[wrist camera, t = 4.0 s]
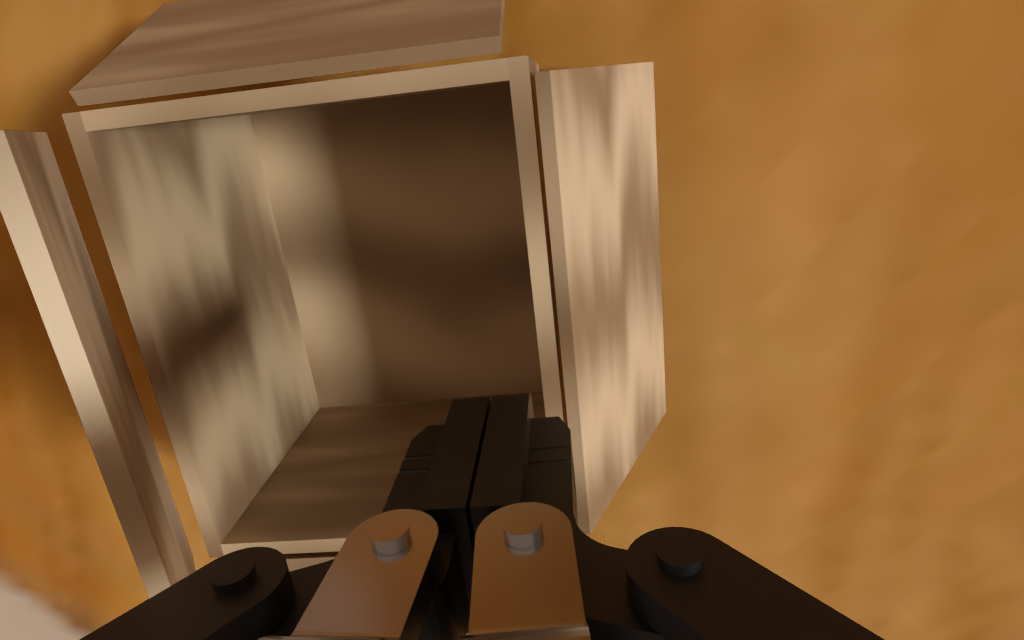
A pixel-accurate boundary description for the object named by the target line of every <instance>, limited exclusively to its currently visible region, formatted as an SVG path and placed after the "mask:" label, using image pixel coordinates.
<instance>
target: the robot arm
mask: <svg viewBox="0 0 1024 640" xmlns="http://www.w3.org/2000/svg"><path fill="white" fill-rule="evenodd" d="M466 633H468V635H466ZM80 640H884V639H882V638H881V637H879V636H877V635H876V634H874V633H873V632H871V631H869V630H868V629H866V628H864V627H863V626H861V625H859V624H858V623H856V622H854V621H853V620H851V619H849V618H848V617H846V616H844V615H843V614H841V613H839V612H838V611H836V610H834V609H833V608H831V607H829V606H828V605H826V604H825V603H823V602H821V601H820V600H818V599H816V598H815V597H813V596H811V595H810V594H808V593H806V592H805V591H803V590H801V589H800V588H798V587H796V586H795V585H793V584H791V583H790V582H788V581H786V580H785V579H783V578H781V577H780V576H778V575H777V574H775V573H773V572H772V571H770V570H768V569H767V568H765V567H763V566H762V565H760V564H758V563H757V562H755V561H753V560H752V559H750V558H748V557H747V556H745V555H743V554H742V553H740V552H738V551H737V550H735V549H733V548H732V547H730V546H729V545H727V544H725V543H724V542H722V541H720V540H719V539H717V538H715V537H713V536H711V535H709V534H707V533H705V532H702V531H699V530H695V529H691V528H684V527H666V528H660V529H655V530H653V531H650V532H647V533H645V534H643V535H641V536H640V537H639V538H637V539H636V540H635V541H634V542H633V543H632V544H631V545H630V547H629V549H628V550H624V549H619V548H614V547H610V546H607V545H604V544H601V543H598V542H597V541H595V540H593V539H591V538H590V537H588V536H587V535H585V534H584V533H583V532H582V531H581V530H580V529H579V527H578V514H577V495H576V484H575V474H574V463H573V453H572V442H571V432H570V429H569V427H568V426H567V425H566V424H565V423H564V422H563V421H562V419H561V418H560V417H559V416H556V417H542V418H534V412H533V403H532V397H531V394H530V393H525V394H511V395H497V396H493V397H491V396H485V397H471V398H458V399H453V401H452V403H451V406H450V409H449V412H448V415H447V418H446V421H445V424H442V425H428V426H427V427H425V428H424V429H423V430H422V431H421V432H420V433H419V434H418V435H417V436H416V437H414V438H413V439H412V440H411V442H410V445H409V447H408V450H407V452H406V455H405V460H403V462H402V464H401V467H400V469H399V473H398V474H397V477H396V479H395V482H394V484H393V486H392V489H391V491H390V494H389V496H388V499H387V501H386V504H385V506H384V508H383V511H382V513H380V514H378V515H375V516H373V517H371V518H369V519H367V520H365V521H364V522H362V523H361V524H359V525H358V526H357V527H356V528H355V529H354V530H353V531H352V532H351V533H350V534H349V536H348V537H347V539H346V540H345V542H344V544H343V546H342V547H341V549H340V551H339V553H338V554H337V556H336V558H335V559H332V560H329V561H326V562H323V563H319V564H315V565H312V566H308V567H305V568H301V569H297V570H294V571H290V572H289V568H288V565H287V561H286V559H285V557H284V555H283V554H282V553H281V552H279V551H278V550H276V549H273V548H270V547H250V548H245V549H240V550H237V551H234V552H231V553H228V554H226V555H224V556H221V557H220V558H218V559H216V560H214V561H212V562H211V563H209V564H207V565H205V566H204V567H202V568H200V569H199V570H197V571H195V572H194V573H192V574H190V575H189V576H187V577H185V578H183V579H182V580H180V581H178V582H177V583H175V584H173V585H172V586H170V587H168V588H167V589H165V590H163V591H161V592H160V593H158V594H156V595H155V596H153V597H151V598H150V599H148V600H146V601H144V602H143V603H141V604H139V605H138V606H136V607H134V608H133V609H131V610H129V611H128V612H126V613H124V614H122V615H121V616H119V617H117V618H116V619H114V620H112V621H111V622H109V623H107V624H105V625H104V626H102V627H100V628H99V629H97V630H95V631H94V632H92V633H90V634H89V635H87V636H85V637H83V638H82V639H80Z"/></svg>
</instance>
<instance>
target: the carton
mask: <svg viewBox="0 0 1024 640" xmlns="http://www.w3.org/2000/svg"><path fill="white" fill-rule="evenodd" d="M504 7H505V0H186V1H179V2H172V3H165V4H163V5H162V6H161V7H160V8H159V9H158V10H157V11H155V12H154V13H153V14H152V15H151V16H150V17H149V18H148V19H147V20H146V21H145V22H143V23H142V24H141V25H140V26H139V27H138V28H137V29H136V30H135V31H134V32H133V33H132V34H130V35H129V36H128V37H127V38H126V39H125V40H124V41H123V42H122V43H121V44H120V45H118V46H117V47H116V48H115V49H114V50H113V51H112V52H111V53H110V54H109V55H108V56H106V57H105V58H104V59H103V60H102V61H101V62H100V63H99V64H98V65H97V66H96V67H95V68H93V69H92V70H91V71H90V72H89V73H88V74H87V75H86V76H85V77H84V78H83V79H81V80H80V81H79V82H78V83H77V84H76V85H75V86H74V87H73V88H72V89H71V90H70V91H69V93H70V94H71V96H72V97H73V99H74V100H75V102H76V104H77V105H78V106H85V105H93V104H101V103H109V102H117V101H125V100H133V99H140V98H148V97H156V96H164V95H172V94H180V93H188V92H196V91H204V90H211V89H219V88H227V87H235V86H243V85H251V84H259V83H267V82H275V81H283V80H290V79H298V78H306V77H314V76H322V75H330V74H338V73H346V72H354V71H362V70H369V69H377V68H385V67H393V66H401V65H409V64H417V63H425V62H433V61H440V60H448V59H456V58H464V57H472V56H480V55H488V54H496V53H502V41H503V24H504ZM62 117H63V120H64V123H65V126H66V129H67V132H68V135H69V138H70V141H71V144H72V147H73V150H74V153H75V156H76V159H77V162H78V165H79V168H80V171H81V174H82V177H83V180H84V183H85V186H86V189H87V192H88V195H89V198H90V201H91V204H92V207H93V210H94V213H95V216H96V219H97V222H98V225H99V228H100V231H101V234H102V237H103V240H104V243H105V246H106V249H107V252H108V255H109V258H110V261H111V264H112V267H113V270H114V273H115V276H116V278H117V281H118V284H119V287H120V290H121V293H122V296H123V299H124V302H125V305H126V308H127V311H128V314H129V317H130V320H131V323H132V326H133V329H134V332H135V335H136V338H137V341H138V344H139V347H140V350H141V353H142V356H143V359H144V362H145V365H146V368H147V371H148V374H149V377H150V380H151V383H152V386H153V389H154V392H155V395H156V398H157V401H158V404H159V407H160V410H161V413H162V416H163V419H164V422H165V425H166V428H167V431H168V434H169V437H170V440H171V443H172V446H173V449H174V452H175V455H176V458H177V461H178V464H179V467H180V470H181V473H182V476H183V479H184V482H185V485H186V488H187V491H188V494H189V497H190V500H191V503H192V506H193V509H194V511H195V514H196V517H197V520H198V523H199V526H200V529H201V532H202V535H203V538H204V541H205V544H206V547H207V550H208V553H209V556H210V558H211V557H221V556H224V555H226V554H228V553H231V552H234V551H237V550H240V549H245V548H250V547H270V548H273V549H276V550H278V551H279V552H281V553H282V554H283V555H284V557H285V559H286V561H287V565H288V568H289V572H290V571H294V570H297V569H301V568H305V567H308V566H312V565H315V564H319V563H323V562H326V561H329V560H332V559H335V558H336V556H337V554H338V553H339V551H340V549H341V547H342V546H343V544H344V542H345V540H346V539H347V537H348V536H349V534H350V533H351V532H352V531H353V530H354V529H355V528H356V527H357V526H358V525H359V524H361V523H362V522H364V521H365V520H367V519H369V518H371V517H373V516H375V515H378V514H380V513H382V511H383V508H384V506H385V504H386V501H387V499H388V496H389V494H390V491H391V489H392V486H393V484H394V482H395V479H396V477H397V474H398V473H399V469H400V467H401V464H402V462H403V460H405V455H406V452H407V450H408V447H409V445H410V442H411V440H412V439H413V438H414V437H416V436H417V435H418V434H419V433H420V432H421V431H422V430H423V429H424V428H425V427H427V426H428V425H442V424H445V421H446V418H447V415H448V412H449V409H450V406H451V403H452V401H453V399H458V398H471V397H485V396H491V397H493V396H497V395H511V394H525V393H530V394H531V397H532V403H533V412H534V418H542V417H556V416H559V417H560V418H561V419H562V421H563V422H564V423H565V424H566V425H567V426H568V427H569V429H570V432H571V442H572V453H573V463H574V474H575V484H576V495H577V514H578V527H579V529H580V530H581V531H582V532H583V533H587V534H591V532H592V531H593V529H594V528H595V526H596V524H597V523H598V521H599V519H600V518H601V516H602V515H603V513H604V511H605V510H606V508H607V507H608V505H609V503H610V502H611V500H612V499H613V497H614V495H615V494H616V492H617V490H618V489H619V487H620V486H621V484H622V482H623V481H624V479H625V478H626V476H627V474H628V473H629V471H630V469H631V468H632V466H633V465H634V463H635V461H636V460H637V458H638V457H639V455H640V453H641V452H642V450H643V448H644V447H645V445H646V444H647V442H648V440H649V439H650V437H651V436H652V434H653V432H654V431H655V429H656V427H657V426H658V424H659V423H660V421H661V419H662V418H663V416H664V415H665V413H666V397H665V370H664V343H663V315H662V288H661V260H660V233H659V206H658V178H657V151H656V124H655V96H654V69H653V62H644V63H632V64H620V65H609V66H597V67H585V68H574V69H562V70H550V71H542V72H540V67H539V65H538V64H537V63H536V62H535V61H534V60H533V59H532V58H530V57H529V56H528V55H526V56H518V57H510V58H502V59H494V60H486V61H478V62H470V63H462V64H454V65H446V66H438V67H430V68H422V69H415V70H407V71H399V72H391V73H383V74H375V75H367V76H359V77H351V78H343V79H335V80H327V81H319V82H311V83H303V84H295V85H287V86H279V87H271V88H263V89H255V90H247V91H240V92H232V93H224V94H216V95H208V96H200V97H192V98H184V99H176V100H168V101H160V102H152V103H144V104H136V105H128V106H120V107H112V108H104V109H96V110H88V111H80V112H73V113H65V114H62Z"/></svg>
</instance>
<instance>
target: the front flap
mask: <svg viewBox="0 0 1024 640" xmlns="http://www.w3.org/2000/svg"><path fill="white" fill-rule="evenodd" d="M0 211H1V213H2V216H3V218H4V221H5V224H6V226H7V229H8V231H9V234H10V237H11V239H12V242H13V244H14V247H15V250H16V252H17V255H18V257H19V260H20V263H21V265H22V268H23V270H24V273H25V276H26V278H27V281H28V283H29V286H30V289H31V291H32V294H33V296H34V299H35V302H36V304H37V307H38V310H39V312H40V315H41V317H42V320H43V323H44V325H45V328H46V330H47V333H48V336H49V338H50V341H51V343H52V346H53V349H54V351H55V354H56V356H57V359H58V362H59V364H60V367H61V369H62V372H63V375H64V377H65V380H66V382H67V385H68V388H69V390H70V393H71V395H72V398H73V401H74V403H75V406H76V408H77V411H78V414H79V416H80V419H81V421H82V424H83V427H84V429H85V432H86V435H87V437H88V440H89V442H90V445H91V448H92V450H93V453H94V455H95V458H96V461H97V463H98V466H99V468H100V471H101V474H102V476H103V479H104V481H105V484H106V487H107V489H108V492H109V494H110V497H111V500H112V502H113V505H114V507H115V510H116V513H117V515H118V518H119V520H120V523H121V526H122V528H123V531H124V533H125V536H126V539H127V541H128V544H129V546H130V549H131V552H132V554H133V557H134V560H135V562H136V565H137V567H138V570H139V573H140V575H141V578H142V580H143V583H144V586H145V588H146V591H147V593H148V596H149V599H150V598H151V597H153V596H155V595H156V594H158V593H160V592H161V591H163V590H165V589H167V588H168V587H170V586H172V585H173V584H175V583H177V582H178V581H180V580H182V579H183V578H185V577H187V576H189V575H190V574H192V573H194V572H195V565H194V560H193V555H192V552H191V549H190V546H189V543H188V540H187V537H186V534H185V532H184V529H183V526H182V523H181V520H180V517H179V514H178V511H177V508H176V506H175V503H174V500H173V497H172V494H171V491H170V488H169V485H168V482H167V479H166V477H165V474H164V471H163V468H162V465H161V462H160V459H159V456H158V453H157V450H156V448H155V445H154V442H153V439H152V436H151V433H150V430H149V427H148V424H147V422H146V419H145V416H144V413H143V410H142V407H141V404H140V401H139V398H138V395H137V393H136V390H135V387H134V384H133V381H132V378H131V375H130V372H129V369H128V367H127V364H126V361H125V358H124V355H123V352H122V349H121V346H120V343H119V340H118V338H117V335H116V332H115V329H114V326H113V323H112V320H111V317H110V314H109V312H108V309H107V306H106V303H105V300H104V297H103V294H102V291H101V288H100V285H99V283H98V280H97V277H96V274H95V271H94V268H93V265H92V262H91V259H90V257H89V254H88V251H87V248H86V245H85V242H84V239H83V236H82V233H81V230H80V228H79V225H78V222H77V219H76V216H75V213H74V210H73V207H72V204H71V202H70V199H69V196H68V193H67V190H66V187H65V184H64V181H63V178H62V175H61V173H60V170H59V167H58V164H57V161H56V158H55V155H54V152H53V149H52V146H51V144H50V141H49V138H48V135H47V132H31V131H13V130H0Z"/></svg>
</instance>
